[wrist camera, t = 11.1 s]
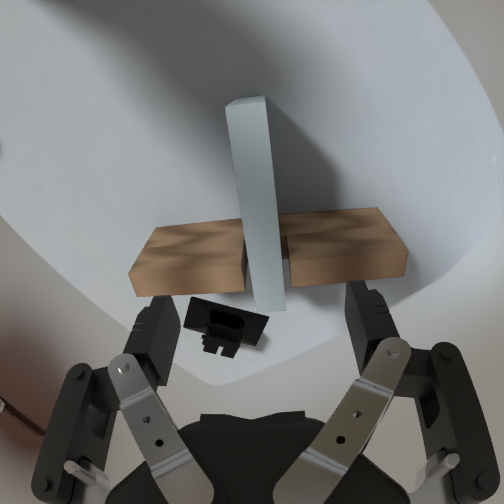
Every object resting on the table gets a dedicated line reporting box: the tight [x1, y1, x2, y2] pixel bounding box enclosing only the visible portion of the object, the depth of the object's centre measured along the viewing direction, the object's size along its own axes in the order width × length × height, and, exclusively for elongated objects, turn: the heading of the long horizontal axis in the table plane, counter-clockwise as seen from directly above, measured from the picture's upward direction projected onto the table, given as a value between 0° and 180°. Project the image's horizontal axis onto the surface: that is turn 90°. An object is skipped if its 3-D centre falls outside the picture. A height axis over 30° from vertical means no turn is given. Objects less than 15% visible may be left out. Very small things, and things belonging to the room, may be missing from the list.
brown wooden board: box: [128, 208, 408, 297], centre depth 27 cm, size 22×2×8 cm, turn 97°
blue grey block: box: [225, 95, 286, 313], centre depth 25 cm, size 16×2×8 cm, turn 7°
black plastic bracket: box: [183, 297, 269, 358], centre depth 36 cm, size 12×7×5 cm, turn 72°
